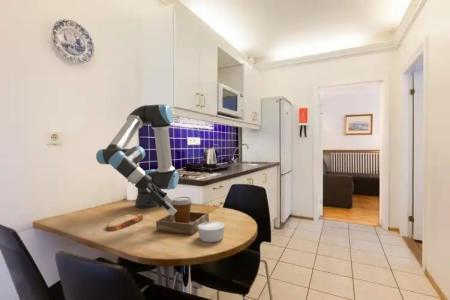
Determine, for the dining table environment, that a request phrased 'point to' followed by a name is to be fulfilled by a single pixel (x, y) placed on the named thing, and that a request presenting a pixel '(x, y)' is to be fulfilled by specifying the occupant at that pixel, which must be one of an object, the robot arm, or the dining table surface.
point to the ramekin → (211, 231)
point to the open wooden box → (182, 228)
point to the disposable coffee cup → (182, 209)
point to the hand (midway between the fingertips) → (174, 209)
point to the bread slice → (123, 222)
